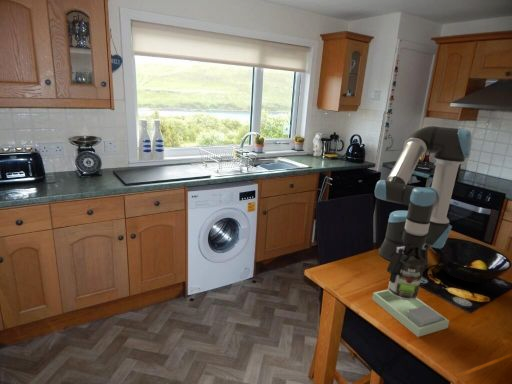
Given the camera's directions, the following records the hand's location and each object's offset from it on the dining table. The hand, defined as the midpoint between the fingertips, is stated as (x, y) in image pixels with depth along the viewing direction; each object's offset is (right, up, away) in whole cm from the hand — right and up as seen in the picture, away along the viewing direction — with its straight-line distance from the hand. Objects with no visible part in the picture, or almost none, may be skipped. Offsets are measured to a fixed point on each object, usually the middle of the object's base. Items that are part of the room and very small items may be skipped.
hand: (403, 287), depth 125 cm
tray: (+1, -10, -1) cm, 10 cm away
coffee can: (0, -2, +1) cm, 2 cm away
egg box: (+4, -11, -7) cm, 13 cm away
